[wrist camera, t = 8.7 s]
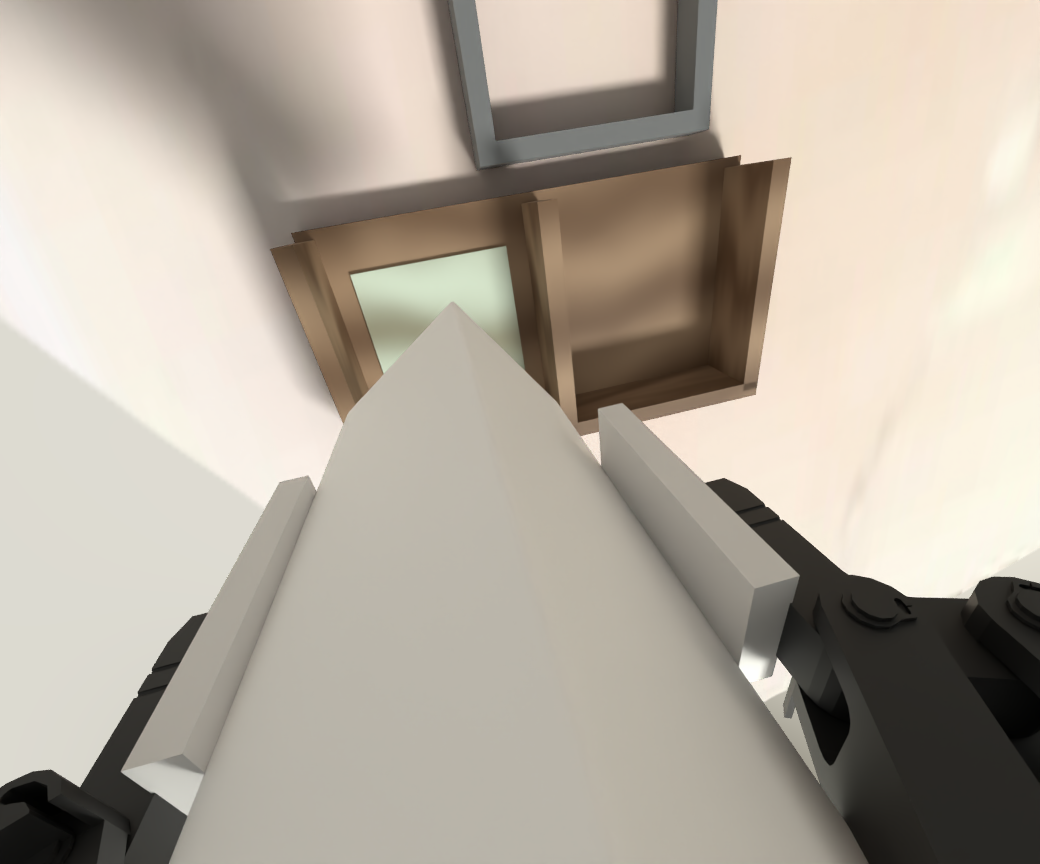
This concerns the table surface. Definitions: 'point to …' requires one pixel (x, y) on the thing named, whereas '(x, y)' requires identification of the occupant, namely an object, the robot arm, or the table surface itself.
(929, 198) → the table surface
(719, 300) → the box
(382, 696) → the milk
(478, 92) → the bracket
